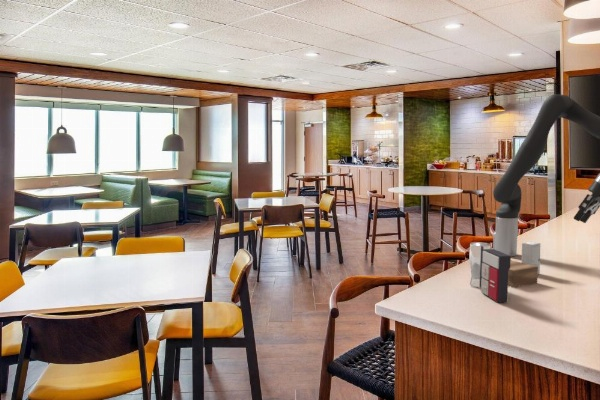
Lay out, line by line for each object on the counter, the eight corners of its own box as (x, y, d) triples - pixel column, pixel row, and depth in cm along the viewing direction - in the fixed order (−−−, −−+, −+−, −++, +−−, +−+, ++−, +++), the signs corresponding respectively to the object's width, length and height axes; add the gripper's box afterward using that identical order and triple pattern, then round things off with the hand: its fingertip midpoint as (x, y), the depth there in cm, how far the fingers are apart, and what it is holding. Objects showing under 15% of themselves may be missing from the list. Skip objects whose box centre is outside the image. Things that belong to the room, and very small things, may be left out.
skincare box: (531, 276, 175) (532, 244, 174) (520, 273, 179) (521, 242, 178) (540, 273, 178) (541, 242, 177) (529, 271, 182) (530, 241, 181)
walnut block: (486, 279, 172) (486, 263, 171) (509, 275, 177) (509, 259, 176) (513, 287, 161) (514, 270, 160) (537, 283, 166) (537, 266, 165)
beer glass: (488, 283, 165) (490, 242, 164) (490, 289, 159) (491, 246, 157) (468, 282, 168) (469, 241, 166) (468, 287, 161) (469, 245, 160)
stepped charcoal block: (479, 292, 155) (480, 249, 154) (491, 292, 156) (493, 248, 154) (496, 303, 144) (497, 256, 143) (509, 302, 145) (510, 255, 143)
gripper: (600, 182, 180) (575, 217, 185) (590, 176, 170) (564, 214, 175) (619, 191, 175) (593, 227, 180) (610, 186, 165) (583, 224, 170)
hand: (579, 220), depth 177 cm, fingers open, 8 cm apart
